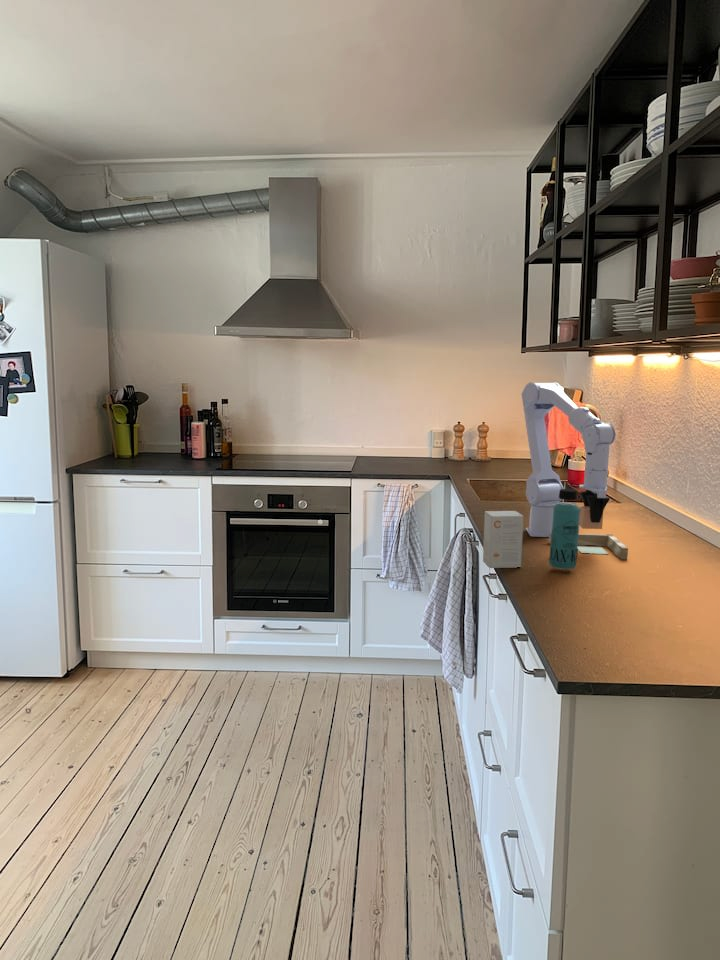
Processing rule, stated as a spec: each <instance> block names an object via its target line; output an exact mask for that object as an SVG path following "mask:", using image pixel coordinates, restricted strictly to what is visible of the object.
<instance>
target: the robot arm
mask: <svg viewBox="0 0 720 960" xmlns="http://www.w3.org/2000/svg"><path fill="white" fill-rule="evenodd" d="M564 391H565V389H564V387H563V386H561V385H560V384H559V383H558V382H556V381H555V382H532V381H530V382H528V383H527V384H525V386H524V388H523V390H522V392H521V398H522V405H523V412H524V422H525V428H526V435H527V441H528V448H529V453H530V455H529V456H530V460H531V461H530V462H531V467H532V473H531V474H530V475H529V476H528V477H527V478H526V479H525V482H526V489H525V496H526V500H527V501H528V502H529V503H528V504H529V505H530V510H529V524H528V527H526V528H525V531H527V534H528V535H529V536H530V537H532V538H533V537H534V538H549V532H552V522H553V507H554V506H555V505H556V504H558V503H560V502H562V500H563V499H560V498H559V493H560V490H561V489H565V488H564V486H563V484H562V481H561V478H560V475H559V474H558V473H557V472H555V471H554V470H553V468H552V463H551V462H552V460H551V455H550V448H549V442H548V441H549V440H548V436H547V435H548V434H547V428H546V422H545V416H546V415H547V414H548V413H550V412H551V411H552V410H553V409H554V408H557V409H558V410H559V411H561V412H562V413H564V415H566V416H567V417H568V422H569V425H570V426H571V427H573V428H574V429H575V430H576V431H577V432H578V433H579V434H581V436H582V437H581V439H582V441H583V445H584V452H585V463H584V477H583V484H579V486H578V488H579V489H582V490H580V491H579V493H580V496H581V499H582V502H583V506H589V507H590V519H591V522H595V523H600V520H601V517H602V514H603V515H604V511H605V508H606V506H607V505H608V503H609V501H610V496H607V490H608V486H607V485H608V474H609V473H608V471H609V461H610V460H609V458H610V446H611V445H612V444H613V443H614V441H615V439H616V430H615V428H614V426H613V425H612V424H611V423H609V422H603V421H601V419H600V418H599V417H596V416H595V415H594V414H593V413H592V412H591V411H590V409H589V407H584V406H579V407H578V406H577V405H576V404H575V402H573V400H572V399H571V398H570V397H569V396H568V395H567V394H566V393H565V392H564Z"/></svg>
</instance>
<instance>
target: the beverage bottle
mask: <svg viewBox="0 0 720 960" xmlns="http://www.w3.org/2000/svg"><path fill="white" fill-rule="evenodd" d="M577 495H578V493H577V490H575V489H571V488H564V489H561V490H560V493H559V498H560V499H562V500H569V501H576V500H577V499H578V496H577ZM579 519H580V508H579V506H578V504H577V503H573V502H566V501H565V502H564V501H563V502H562V501H560V502H559V503H558V504H556V505H555V506H554V507H553V522H552V533H551V537H550V538H551V540H550V541H551V544H549V545H550V546H549V557H548V558H549V559H548V561H549V562H548V563H549V566H550V567H552V568H555V569H561V570H571V569H575V567H576V565H577V560H578V552H579V550H578V549H577V546H579V545H578V541H579V540H578V537H579V536H578V534H579V533H580V532H579V531H580V528H581V527H580V526H579Z"/></svg>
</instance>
